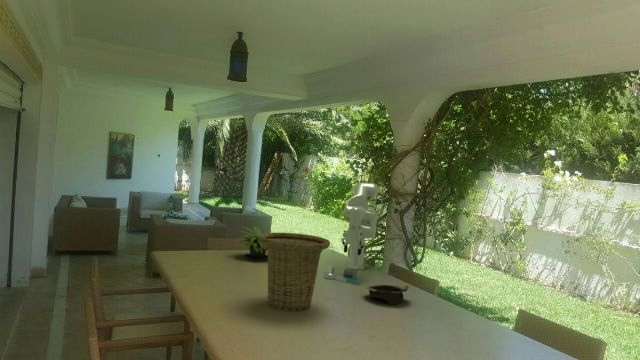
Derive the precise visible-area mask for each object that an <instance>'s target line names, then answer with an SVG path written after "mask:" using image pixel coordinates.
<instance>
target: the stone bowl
mask: <svg viewBox="0 0 640 360" xmlns="http://www.w3.org/2000/svg"><path fill="white" fill-rule="evenodd" d="M409 288H410V286H408V285H406V286H402V285H397V284H395V285H394V284H384V283H383V284H381V283H380V284H379V283H377V284H367V285H365V286H363V289H366V290H368V292H369V293H368V294H369V295H370V296H371V297H373V298H376V299H381V300H385V301H386V304H388V305H391V306H392V305H397V304H399V303H402V302H403V301H404V294H403V293H404V292H405V293H406V292H407V291H408V289H409Z"/></svg>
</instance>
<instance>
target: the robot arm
mask: <svg viewBox="0 0 640 360" xmlns="http://www.w3.org/2000/svg"><path fill="white" fill-rule="evenodd" d="M378 194H379V187H378V185H377V184H376V183H372V182H371V183H370V182H358V183H356V184H354V186H353V196H351V197H350V198H348V199H347V200H346V202H345V205H344V209H343V214H344V216H345V218H349V223H348V224H349V225H348V227H347V231H346V234H345V236H344V237H343V238H341V239H340V240H341V243H342V245H343V253H344V254H346V253H348V250H349V249H348V248H349V247H348V245H350V251H349V262H348V264H347V265H346V268H351V269H356V270H364V269H365V266H364V264H365V261H364V254H365V253H364V252H365V246H366V244H367V242H366V241H365V240H363V239H374V238H375V236H376V233H377V232H376V231H377V225H378V224H377V222H378V214H377V211H376V210H373V209H368V207H369V201H368V199H367V197H368V198H376V197H377V196H378ZM365 223H366V224H365Z"/></svg>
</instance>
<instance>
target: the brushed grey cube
mask: <svg viewBox="0 0 640 360" xmlns="http://www.w3.org/2000/svg"><path fill="white" fill-rule="evenodd" d="M357 276H358V269H351V268H348V267H346V268H345V269H343V277H347V278H348V277H350V278H355V279H358V278H357Z"/></svg>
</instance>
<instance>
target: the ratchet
mask: <svg viewBox="0 0 640 360" xmlns="http://www.w3.org/2000/svg"><path fill="white" fill-rule="evenodd" d="M335 267H336V266H334V265H328V266H327V270H326V271H325V272H323V273H324V274H323V278H324V279H326V280H332V279H333V280H336V281H340V282H343V281H344V283H347V284H352V285H356V286H360V285H362V279H359V278H357V279H355V278H350V277H348V278H347V277H344V276H342V275H338V274H337V273H336V272H335Z"/></svg>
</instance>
